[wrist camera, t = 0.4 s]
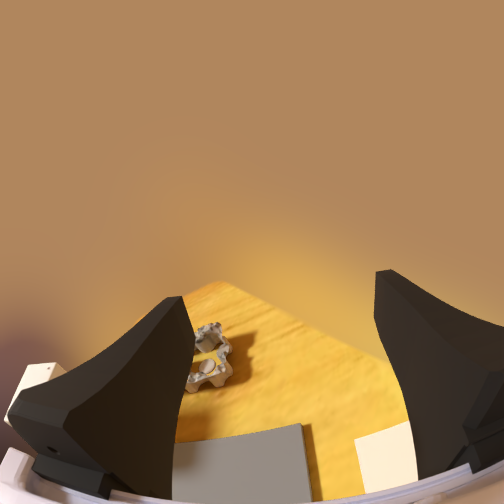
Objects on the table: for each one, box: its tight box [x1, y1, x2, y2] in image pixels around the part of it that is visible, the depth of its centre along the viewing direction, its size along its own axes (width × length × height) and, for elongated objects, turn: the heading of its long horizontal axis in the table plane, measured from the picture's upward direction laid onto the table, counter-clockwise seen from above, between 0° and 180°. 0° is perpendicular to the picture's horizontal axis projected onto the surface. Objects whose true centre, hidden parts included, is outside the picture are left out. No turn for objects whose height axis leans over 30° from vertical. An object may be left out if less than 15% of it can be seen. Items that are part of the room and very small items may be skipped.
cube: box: [354, 421, 418, 494], centre depth 17 cm, size 5×5×5 cm
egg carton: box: [185, 322, 233, 393], centre depth 35 cm, size 11×8×4 cm
